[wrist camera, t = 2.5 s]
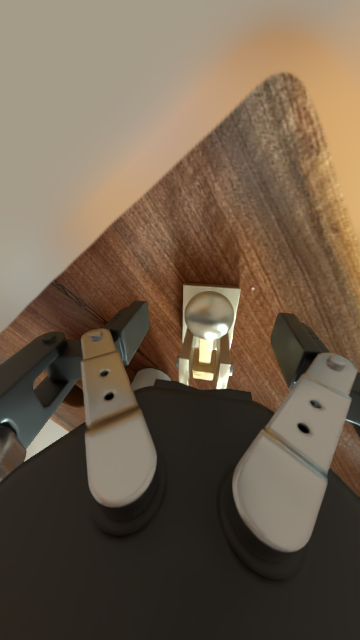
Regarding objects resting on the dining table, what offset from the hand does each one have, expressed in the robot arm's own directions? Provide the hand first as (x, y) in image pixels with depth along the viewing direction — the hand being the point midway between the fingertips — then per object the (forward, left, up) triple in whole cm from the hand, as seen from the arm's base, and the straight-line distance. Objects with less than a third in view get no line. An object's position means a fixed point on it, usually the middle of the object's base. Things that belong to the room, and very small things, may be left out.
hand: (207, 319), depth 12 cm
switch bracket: (+8, +4, -16) cm, 18 cm away
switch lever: (+3, +2, -4) cm, 6 cm away
